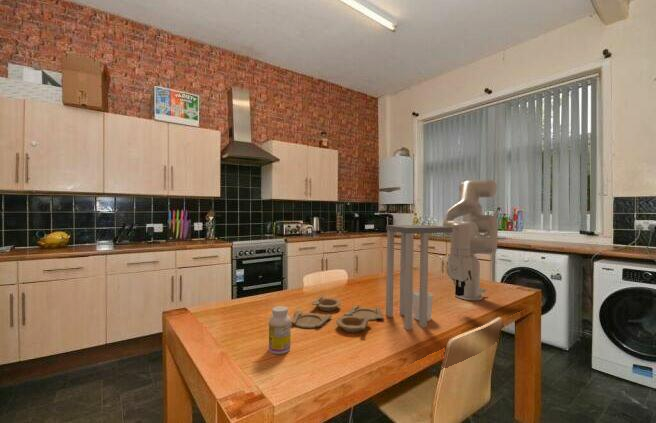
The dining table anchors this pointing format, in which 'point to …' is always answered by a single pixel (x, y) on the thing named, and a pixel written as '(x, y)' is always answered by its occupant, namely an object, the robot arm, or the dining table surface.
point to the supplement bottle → (279, 331)
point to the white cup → (416, 304)
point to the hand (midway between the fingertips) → (459, 295)
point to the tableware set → (346, 322)
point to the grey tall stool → (409, 270)
